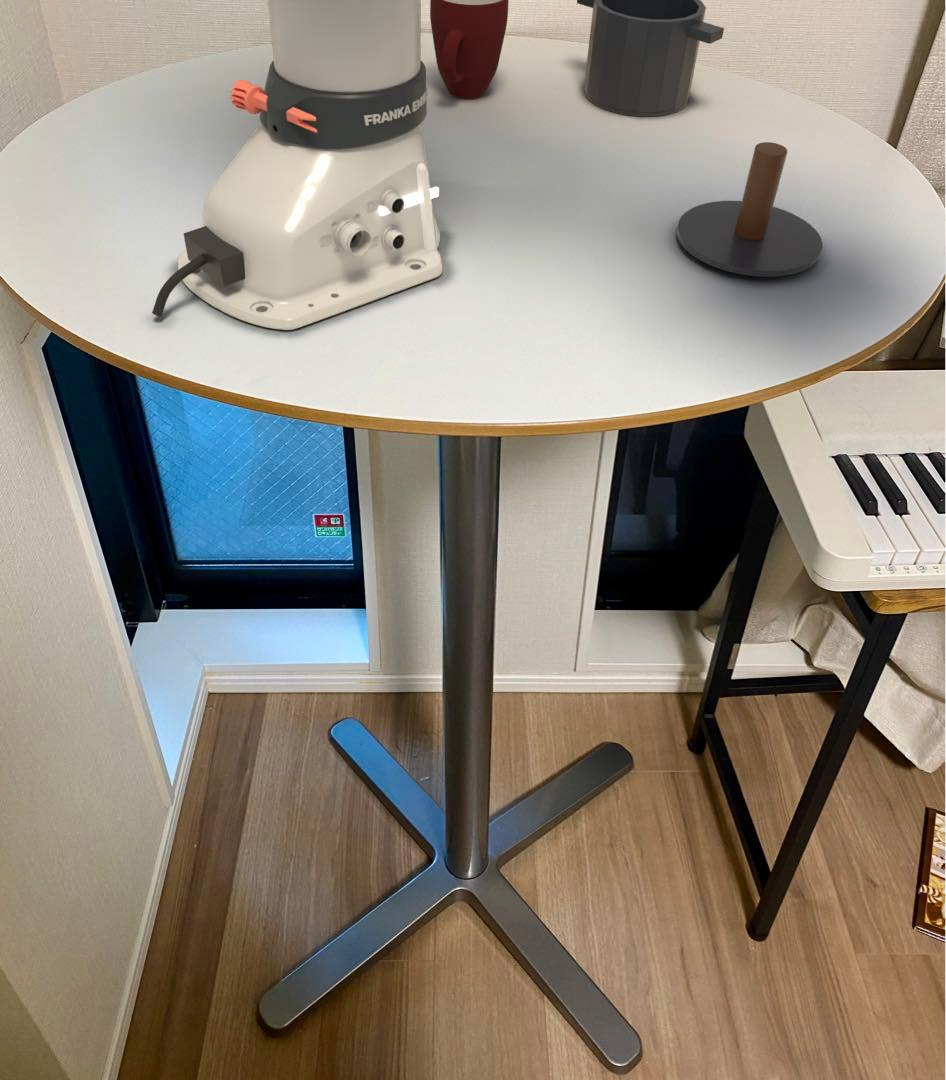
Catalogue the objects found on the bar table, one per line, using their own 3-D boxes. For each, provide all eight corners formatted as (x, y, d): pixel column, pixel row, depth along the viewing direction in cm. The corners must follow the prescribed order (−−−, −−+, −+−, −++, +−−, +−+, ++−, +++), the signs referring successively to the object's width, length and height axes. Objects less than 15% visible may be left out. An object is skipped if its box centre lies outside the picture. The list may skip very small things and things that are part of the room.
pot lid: (775, 300, 80) (804, 198, 74) (648, 246, 86) (665, 147, 80) (843, 245, 87) (875, 149, 81) (721, 199, 93) (743, 105, 87)
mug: (492, 119, 104) (497, 16, 96) (416, 111, 104) (416, 8, 97) (508, 82, 111) (514, -16, 104) (438, 74, 112) (439, -24, 105)
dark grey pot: (671, 133, 103) (689, 36, 96) (544, 88, 110) (552, -5, 103) (728, 103, 109) (748, 10, 102) (604, 62, 116) (615, -28, 110)
